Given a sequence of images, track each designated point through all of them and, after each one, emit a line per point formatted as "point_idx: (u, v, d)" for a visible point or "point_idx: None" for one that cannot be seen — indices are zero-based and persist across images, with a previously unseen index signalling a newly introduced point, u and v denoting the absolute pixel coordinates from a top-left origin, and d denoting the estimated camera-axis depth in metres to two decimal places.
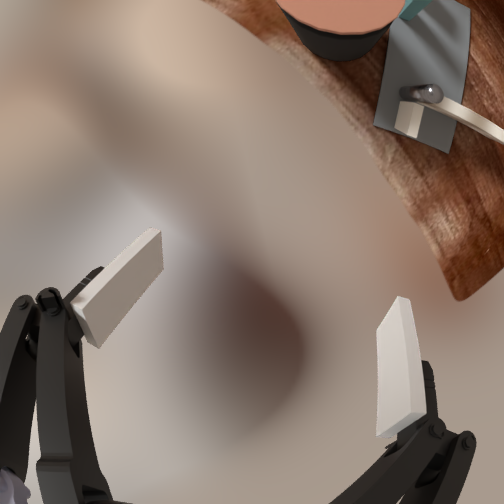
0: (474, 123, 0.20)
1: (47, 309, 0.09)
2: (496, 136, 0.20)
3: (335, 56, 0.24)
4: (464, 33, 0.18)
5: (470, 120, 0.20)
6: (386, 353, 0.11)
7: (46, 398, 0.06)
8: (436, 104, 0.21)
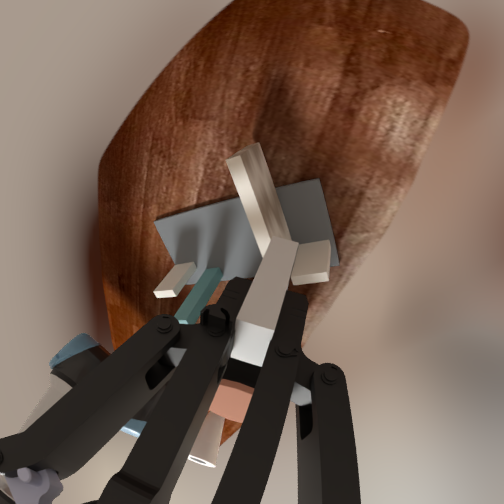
0: (263, 224, 0.27)
1: (209, 326, 0.10)
2: (250, 188, 0.25)
3: None
4: (183, 219, 0.38)
5: (264, 230, 0.27)
6: None
7: (163, 421, 0.07)
8: None
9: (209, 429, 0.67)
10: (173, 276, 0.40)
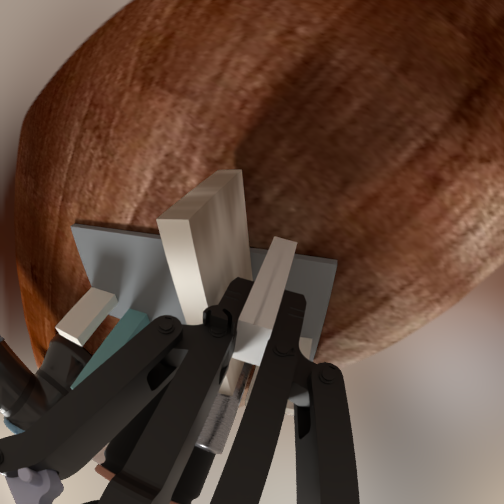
0: None
1: (211, 326, 0.10)
2: (200, 288, 0.12)
3: None
4: (107, 240, 0.23)
5: None
6: None
7: (165, 422, 0.07)
8: (229, 392, 0.17)
9: None
10: (84, 310, 0.24)
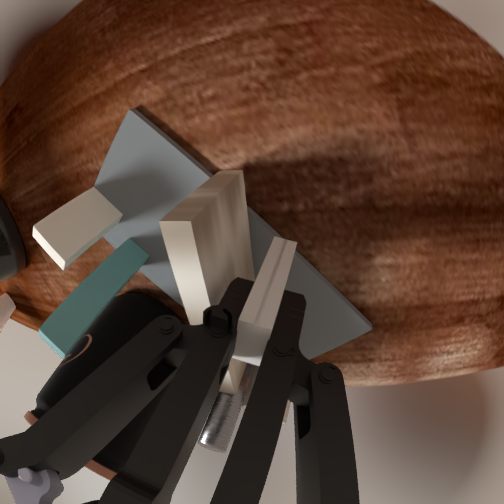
0: None
1: (211, 326, 0.10)
2: (202, 288, 0.12)
3: None
4: (175, 164, 0.17)
5: None
6: None
7: (165, 422, 0.07)
8: (232, 391, 0.17)
9: None
10: (79, 219, 0.18)
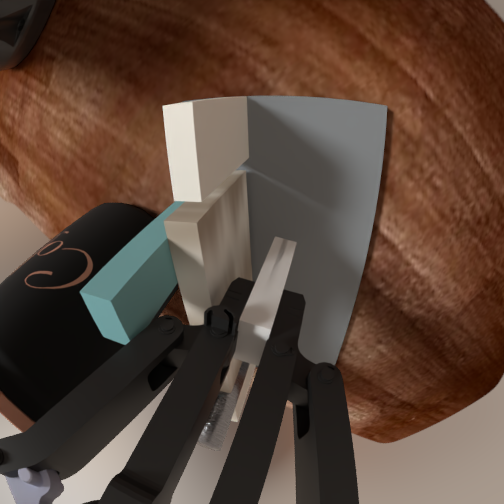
0: None
1: (212, 327, 0.10)
2: (205, 289, 0.12)
3: None
4: (363, 192, 0.15)
5: None
6: None
7: (166, 422, 0.07)
8: (228, 390, 0.17)
9: None
10: (228, 135, 0.12)
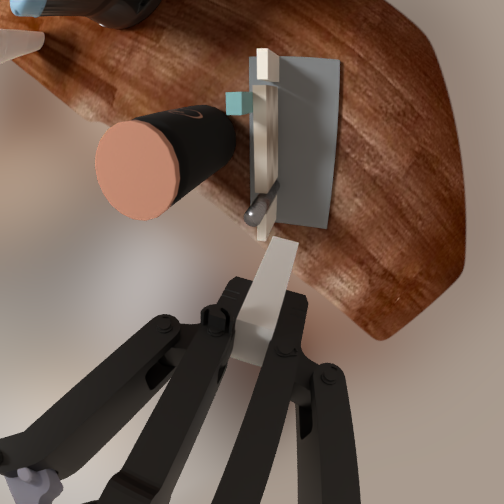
0: (265, 145, 0.29)
1: (209, 326, 0.10)
2: (264, 113, 0.27)
3: None
4: (331, 97, 0.30)
5: (264, 151, 0.30)
6: None
7: (163, 421, 0.07)
8: (265, 190, 0.32)
9: (19, 44, 0.26)
10: (273, 66, 0.27)
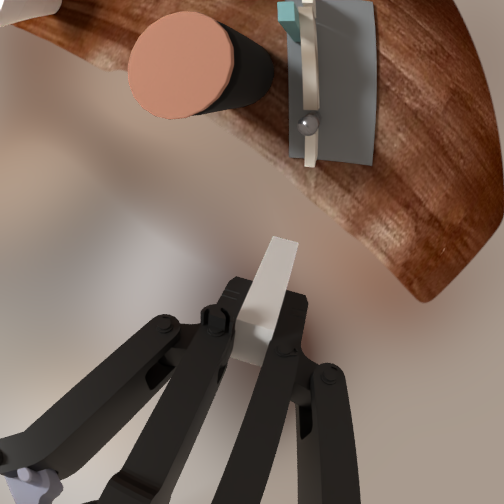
0: (314, 60, 0.24)
1: (209, 326, 0.10)
2: (312, 30, 0.22)
3: None
4: (368, 32, 0.24)
5: (313, 66, 0.24)
6: None
7: (163, 421, 0.07)
8: (315, 106, 0.27)
9: (37, 3, 0.21)
10: None
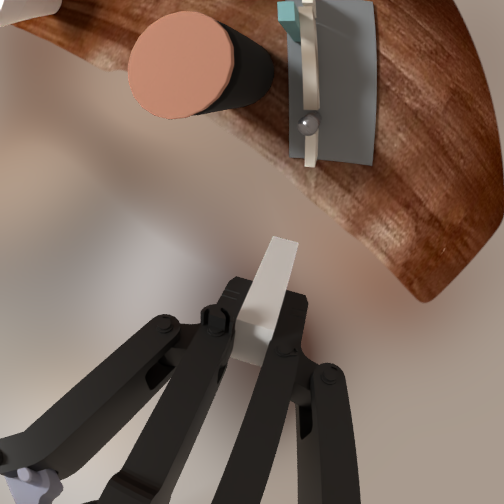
0: (314, 60, 0.24)
1: (209, 326, 0.10)
2: (312, 30, 0.22)
3: None
4: (368, 32, 0.24)
5: (313, 65, 0.24)
6: None
7: (163, 421, 0.07)
8: (315, 106, 0.27)
9: (37, 3, 0.21)
10: None
